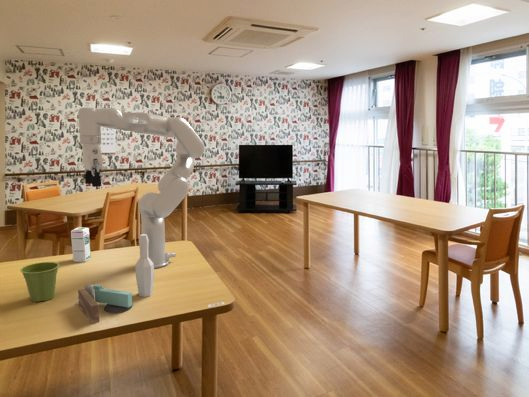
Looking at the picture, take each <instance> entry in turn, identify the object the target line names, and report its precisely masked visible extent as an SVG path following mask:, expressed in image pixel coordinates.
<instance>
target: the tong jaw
mask: <svg viewBox="0 0 529 397" xmlns="http://www.w3.org/2000/svg"><path fill="white" fill-rule="evenodd" d="M93 285H94V286H93V289H94V298H95V301H96V303H99V304H105V305H106V304H111V305H117V306H123V307H130V306H131V305H132V306H133V294H132V293H133V292H130V291H125V290H117V289H110V288H105V287H104V288H103V284H93Z"/></svg>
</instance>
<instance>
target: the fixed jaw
mask: <svg viewBox="0 0 529 397" xmlns="http://www.w3.org/2000/svg"><path fill="white" fill-rule="evenodd" d="M94 285H95V284H86V285H84V286H83V288H81V289H77V294H78V298H77V305H78V306H79V307H80V309H81V310H82V311H83V312H84V314H85V316H86V317H87V318H88V320H89V321H90V322H91V324H96V323H99V322H100V308H99V306H100V305H99V304H98V302H96V301H95V291H94V290H95V289H93V286H94Z"/></svg>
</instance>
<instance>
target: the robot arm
mask: <svg viewBox="0 0 529 397" xmlns="http://www.w3.org/2000/svg"><path fill="white" fill-rule="evenodd" d="M77 112H78V113H77V114H78V129H79V145H82V164H83V168H84V184H85V185H90V184H91V186H92V187H93V188H95V187H102V176H101V175H102V172H101V171H103V170H104V167H103V166H104V165H103V154H102V149H101V145H102V129H101V128H106V129H107V128H108V129H114V130H120V131H128V132H133V133H136V134H142V135H143V134H144V135H153V136H159V137H167V138H176V139H177V142H176V145H175V151H176V159H175V162H174V164H173V165H172V166H171V167H170V169H169V170H167V172H166V173H165V174H164V175H163V176H162V177H161V178H160V180H158V182H157V188H158V191H159V193H157V192H147V193H145V194H143V195H142V196H141V197H140V199H139V211H140V218H141V234H147V236H148V239H149V245H148V255H149V258H150V260H151V261H152V262H153V263H154V269H159V268H163V266H164V267H166V266H168V265H169V264H170V260H169V259H170V258H176V256H177V255H176V252H170V251H169V252H166V231H165V230H166V229H165V228H166V226H165V225H166V224H165V218H166V217H168V216H170V214H172V213H173V212H174V211H175V210H176V209H177V207H178V206H179V205H180V204H181V202H182V201H183V200H184V199H185V197H186V196H188V195H187V194H188V192H189V182H188V181H187V180H188V179H189V177H190V176H191V175H192V173H193V170H194V166H195V159H199V158H200V157H202V156H203V155H204V153H205V148H206V147H205V144H204V142H203V139H201V138H200V136H199V135H198V134H197V133H196V131H195V130H194V128H193V127H192V125H190V123H189V122H188V121H187V120H186V119H184V118H183V117H180V116H177V117H171V116H166V115H159V114H154V113H149V112H130V111H129V112H127V111H120V110H119V109H117V108H115V107H105V108H103V107H102V108H97V107H80V108H78V110H77Z"/></svg>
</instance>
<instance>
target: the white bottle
mask: <svg viewBox="0 0 529 397" xmlns="http://www.w3.org/2000/svg"><path fill="white" fill-rule="evenodd" d="M148 245H149V239H148V236H147V234H142V233H141V234H139V237H138V246H139V259H138V260H137V261H136V263H135V265H134V266H135V279H136V285H137V291H138V295H139V297H140V298H141V297H143V298H147V296H148V297H151V296H152V295H153V291H154V282H155V281H154V279H155V268H154V263H153V262H152V261H151V260H150V258H149V255H148Z"/></svg>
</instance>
